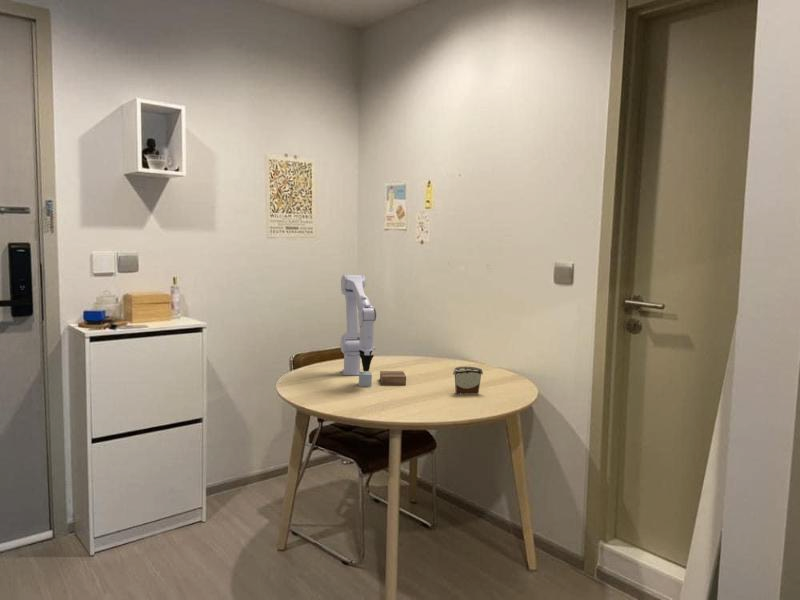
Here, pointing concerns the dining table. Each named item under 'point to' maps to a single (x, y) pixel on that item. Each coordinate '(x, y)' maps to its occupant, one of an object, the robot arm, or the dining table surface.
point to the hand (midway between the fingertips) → (365, 369)
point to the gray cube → (365, 379)
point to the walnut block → (392, 378)
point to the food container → (467, 379)
